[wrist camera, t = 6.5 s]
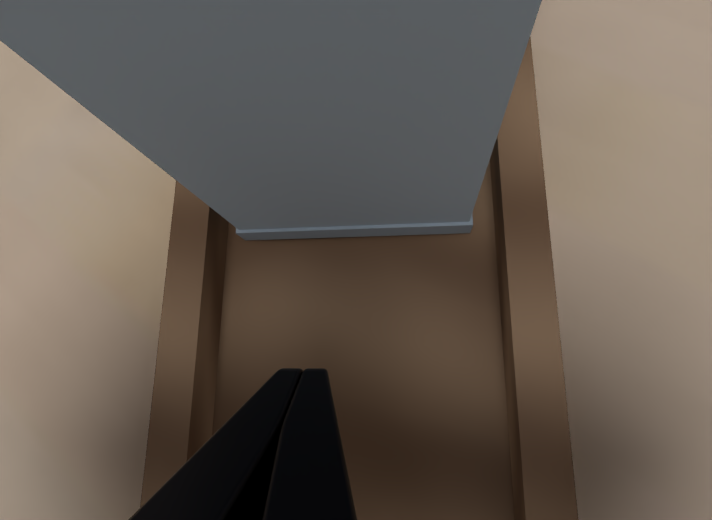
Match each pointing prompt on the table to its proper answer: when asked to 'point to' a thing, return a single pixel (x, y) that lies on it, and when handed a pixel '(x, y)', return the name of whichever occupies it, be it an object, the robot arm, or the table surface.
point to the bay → (387, 345)
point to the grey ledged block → (295, 101)
